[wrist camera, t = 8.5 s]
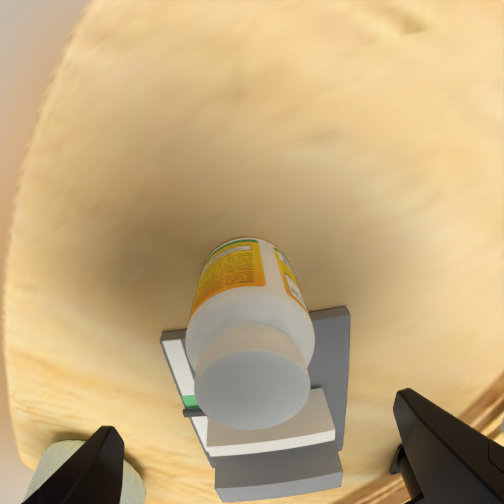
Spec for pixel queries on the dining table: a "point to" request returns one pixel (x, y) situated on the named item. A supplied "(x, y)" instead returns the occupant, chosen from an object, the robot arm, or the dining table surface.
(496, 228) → the dining table surface
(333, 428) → the gauge paddle
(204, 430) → the gauge base
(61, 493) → the robot arm
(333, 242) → the dining table surface
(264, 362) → the supplement bottle
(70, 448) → the vase
